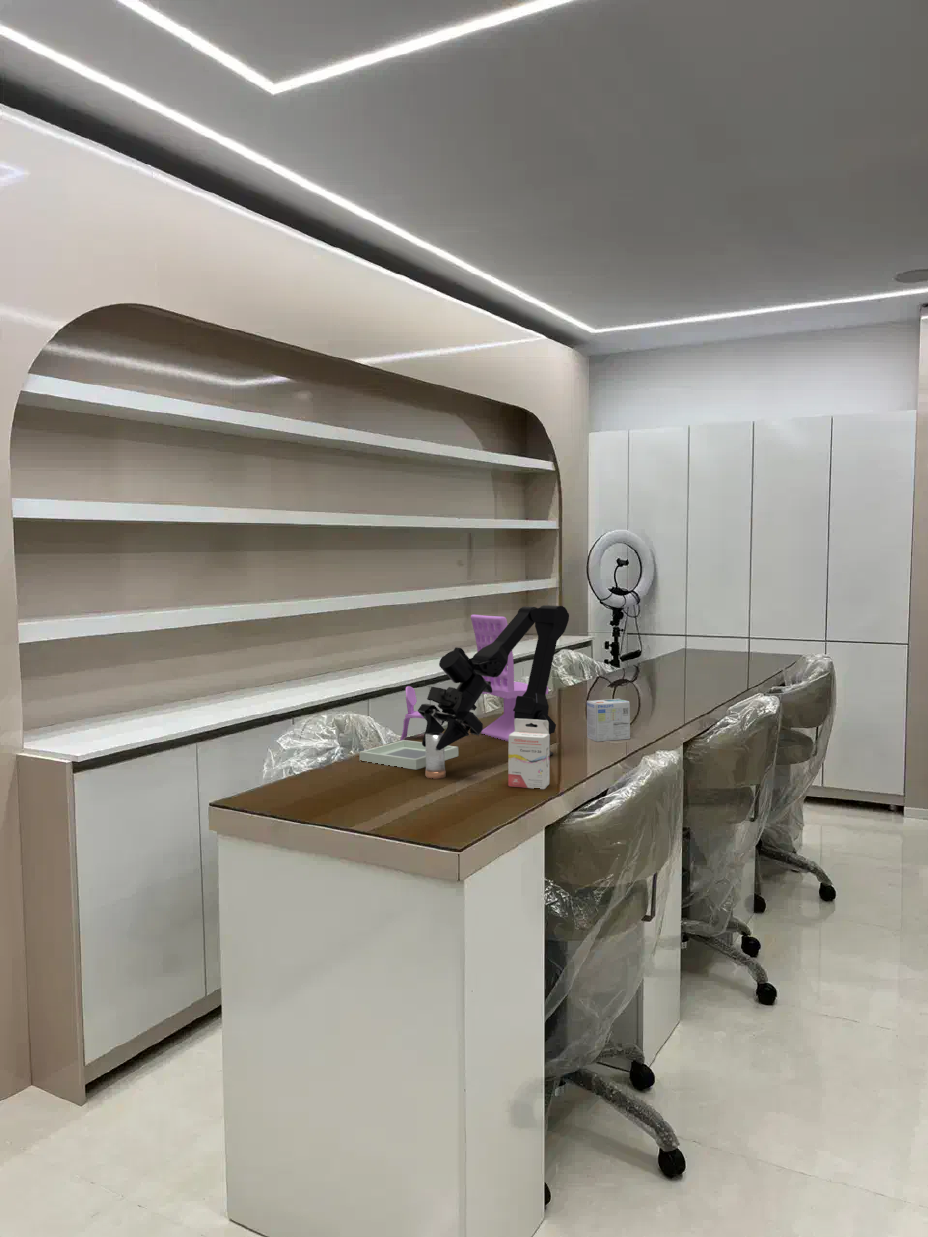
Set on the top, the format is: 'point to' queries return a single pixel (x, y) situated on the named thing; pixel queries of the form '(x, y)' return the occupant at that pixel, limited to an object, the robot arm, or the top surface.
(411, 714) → the toy chair
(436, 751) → the metal sleeve
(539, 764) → the ink cartridge box
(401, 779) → the top surface
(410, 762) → the sage tray
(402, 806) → the top surface
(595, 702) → the light bulb box
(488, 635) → the earring display
